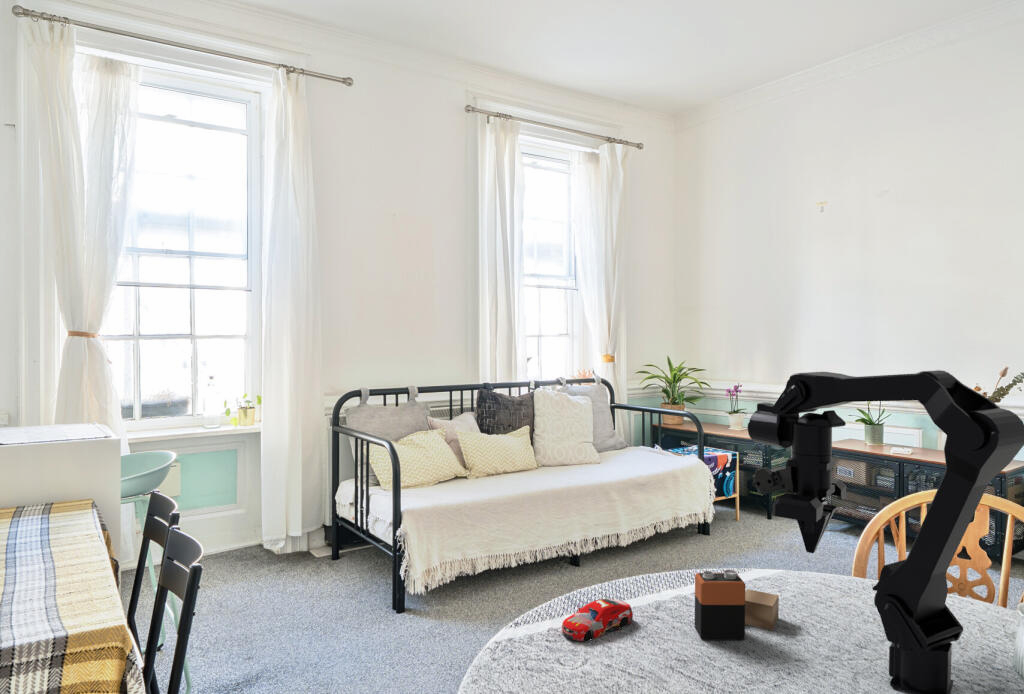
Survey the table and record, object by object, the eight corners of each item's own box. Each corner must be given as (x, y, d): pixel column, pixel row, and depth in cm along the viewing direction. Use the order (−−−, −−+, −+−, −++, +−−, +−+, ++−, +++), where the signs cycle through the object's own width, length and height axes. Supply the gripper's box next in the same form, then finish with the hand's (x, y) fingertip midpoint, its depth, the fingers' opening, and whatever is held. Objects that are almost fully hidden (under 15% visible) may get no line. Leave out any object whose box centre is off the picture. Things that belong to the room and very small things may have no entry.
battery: (745, 641, 105) (746, 577, 104) (701, 641, 105) (701, 577, 104) (736, 628, 109) (737, 566, 108) (693, 628, 109) (694, 566, 109)
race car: (577, 648, 103) (577, 622, 103) (554, 635, 108) (554, 610, 107) (638, 624, 111) (638, 600, 111) (615, 613, 115) (615, 589, 115)
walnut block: (778, 619, 113) (778, 595, 112) (772, 631, 108) (772, 606, 108) (747, 612, 115) (747, 589, 115) (740, 623, 111) (740, 599, 111)
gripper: (777, 439, 118) (776, 528, 119) (738, 456, 104) (737, 557, 104) (847, 446, 111) (846, 540, 112) (815, 465, 97) (814, 574, 97)
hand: (810, 552), depth 107 cm, fingers closed
